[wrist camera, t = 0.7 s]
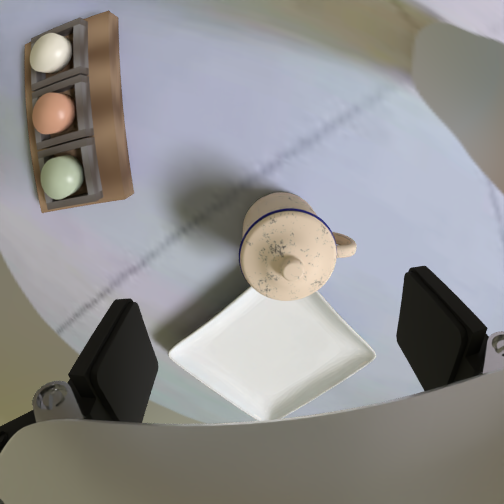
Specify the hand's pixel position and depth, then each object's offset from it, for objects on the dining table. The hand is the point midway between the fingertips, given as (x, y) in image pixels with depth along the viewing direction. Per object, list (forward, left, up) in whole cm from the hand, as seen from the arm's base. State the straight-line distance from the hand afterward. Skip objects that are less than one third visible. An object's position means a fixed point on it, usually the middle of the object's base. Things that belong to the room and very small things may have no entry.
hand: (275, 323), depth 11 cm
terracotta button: (-11, -20, -22) cm, 32 cm away
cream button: (-18, -20, -22) cm, 35 cm away
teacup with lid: (+6, +4, -27) cm, 28 cm away
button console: (-11, -20, -27) cm, 35 cm away
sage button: (-4, -20, -22) cm, 30 cm away
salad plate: (+23, +1, -27) cm, 35 cm away
